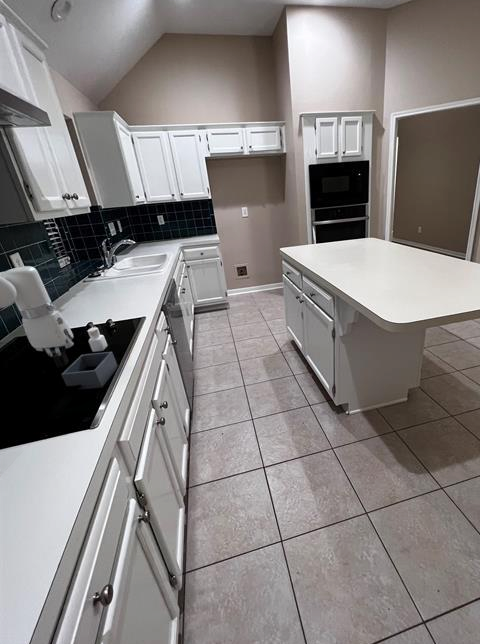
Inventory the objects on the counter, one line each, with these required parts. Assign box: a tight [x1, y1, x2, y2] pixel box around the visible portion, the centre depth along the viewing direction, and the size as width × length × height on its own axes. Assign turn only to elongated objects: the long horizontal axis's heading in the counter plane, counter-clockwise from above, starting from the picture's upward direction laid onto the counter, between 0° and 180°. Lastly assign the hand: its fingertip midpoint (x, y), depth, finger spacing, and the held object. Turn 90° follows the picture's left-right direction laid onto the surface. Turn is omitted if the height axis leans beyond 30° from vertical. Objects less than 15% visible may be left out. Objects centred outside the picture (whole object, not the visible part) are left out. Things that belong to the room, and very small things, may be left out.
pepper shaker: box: [87, 327, 108, 353], centre depth 113 cm, size 4×4×10 cm
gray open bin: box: [60, 351, 119, 391], centre depth 99 cm, size 6×11×10 cm
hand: (63, 364), depth 97 cm, fingers closed
